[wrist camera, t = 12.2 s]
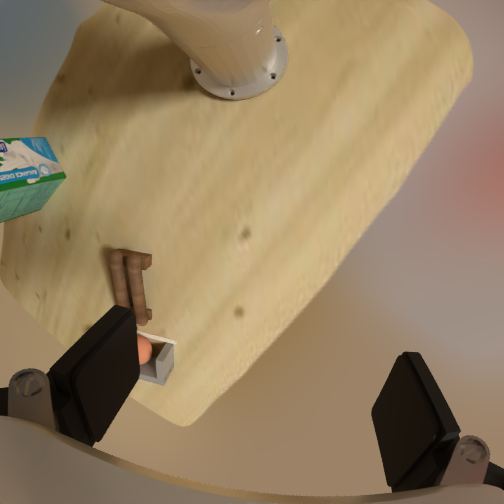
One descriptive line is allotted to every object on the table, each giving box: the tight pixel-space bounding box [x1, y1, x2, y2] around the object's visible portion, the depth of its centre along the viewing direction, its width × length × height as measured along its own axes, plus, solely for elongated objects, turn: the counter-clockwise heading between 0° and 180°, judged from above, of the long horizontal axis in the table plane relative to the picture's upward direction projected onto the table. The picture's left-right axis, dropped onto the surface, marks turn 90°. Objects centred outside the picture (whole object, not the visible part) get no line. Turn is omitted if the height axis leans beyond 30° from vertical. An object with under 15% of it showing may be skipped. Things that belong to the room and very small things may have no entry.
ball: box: [137, 335, 152, 365], centre depth 45 cm, size 5×5×5 cm
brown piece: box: [109, 249, 152, 326], centre depth 42 cm, size 13×6×4 cm, turn 172°
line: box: [137, 331, 176, 344], centre depth 47 cm, size 1×14×1 cm, turn 82°
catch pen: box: [139, 343, 174, 386], centre depth 45 cm, size 5×13×5 cm, turn 82°
